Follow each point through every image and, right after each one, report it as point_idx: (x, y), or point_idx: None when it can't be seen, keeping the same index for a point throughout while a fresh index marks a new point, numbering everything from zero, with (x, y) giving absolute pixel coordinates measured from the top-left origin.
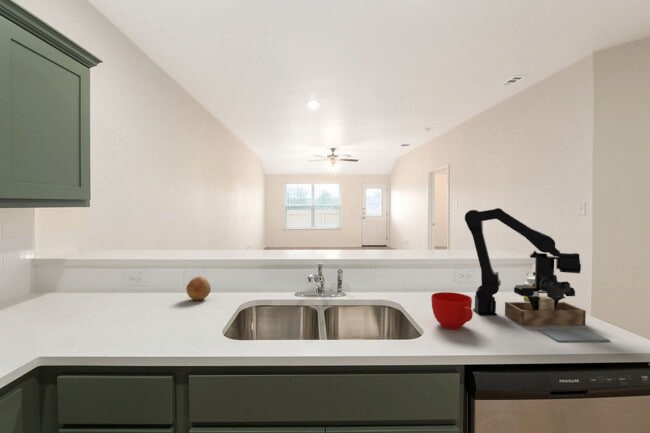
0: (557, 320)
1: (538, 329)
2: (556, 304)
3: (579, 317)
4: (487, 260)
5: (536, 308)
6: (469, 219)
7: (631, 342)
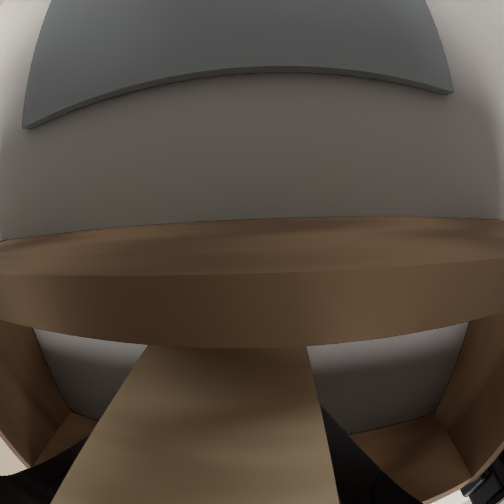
0: (155, 233)
1: (450, 81)
2: (50, 459)
3: None
4: None
5: (357, 449)
6: None
7: (6, 13)
